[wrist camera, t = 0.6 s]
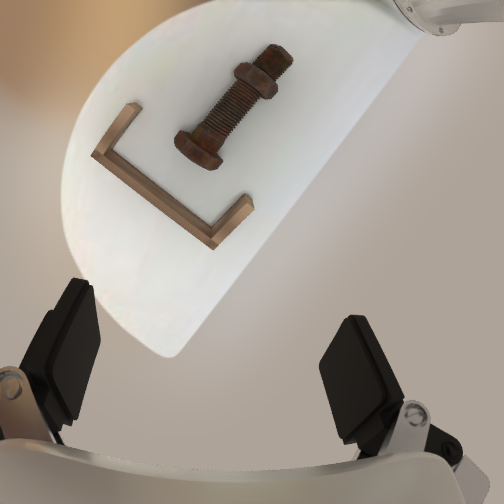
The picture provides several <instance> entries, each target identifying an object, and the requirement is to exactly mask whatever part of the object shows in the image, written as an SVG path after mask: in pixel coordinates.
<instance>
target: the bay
mask: <svg viewBox="0 0 504 504" xmlns="http://www.w3.org/2000/svg"><path fill="white" fill-rule="evenodd" d="M141 110H142V108H141V107H140V106H139V105H137V104H136V103H129V104H126V106H125V107H124V108H123V110H122V111H121V112H120V114H119V115H118V116H117V118H116V119H115V121H114V122H113V123H112V125H111V126H110V128H109V129H108V130H107V132H106V133H105V135H104V136H103V138H102V139H101V141H100V142H99V144H98V145H97V147H96V148H95V150H94V151H93V153H92V154H91V157H93V158H94V159H95V160H96V161H98V162H99V163H100V164H102V165H103V166H104V167H105V168H107V169H108V170H109V171H110V172H112V173H113V174H114V175H115V176H117V177H118V178H119V179H121V180H122V181H123V182H124V183H126V184H127V185H128V186H129V187H131V188H132V189H133V190H135V191H136V192H137V193H138V194H140V195H141V196H142V197H144V198H145V199H146V200H148V201H149V202H150V203H151V204H153V205H154V206H155V207H157V208H158V209H159V210H161V211H162V212H163V213H164V214H166V215H167V216H168V217H170V218H171V219H172V220H174V221H175V222H176V223H178V224H179V225H180V226H182V227H183V228H184V229H185V230H187V231H188V232H189V233H191V234H192V235H193V236H195V237H196V238H197V239H199V240H200V241H201V242H203V243H204V244H205V245H207V246H208V247H209V248H211V249H212V250H214V249H215V248H216V247H217V246H218V245H219V244H220V243H221V242H222V241H223V240H224V239H225V238H226V237H227V236H228V235H229V234H230V233H231V232H232V231H233V230H234V229H235V228H236V227H237V226H238V225H239V224H240V223H241V222H242V221H243V220H244V219H245V218H246V217H247V216H248V215H249V214H250V213H251V212H252V211H253V210H254V209H255V208H254V204H253V201H252V199H251V198H250V197H248V196H247V195H246V194H244V195H243V196H242V197H241V198H240V199H239V200H238V201H237V202H236V203H235V204H234V205H233V206H232V207H231V208H230V209H229V210H228V211H227V212H226V213H225V214H224V215H223V217H222V218H221V219H220V220H219V221H218V222H217V223H216V224H215V225H214V226H213V227H212V228H211V227H210V226H209V225H207V224H206V223H205V222H204V221H202V220H201V219H200V218H199V217H197V216H196V215H195V214H193V213H192V212H191V211H190V210H188V209H187V208H186V207H184V206H183V205H182V204H181V203H179V202H178V201H177V200H176V199H174V198H173V197H172V196H170V195H169V194H168V193H167V192H165V191H164V190H163V189H162V188H160V187H159V186H158V185H156V184H155V183H154V182H153V181H151V180H150V179H149V178H148V177H146V176H145V175H144V174H142V173H141V172H140V171H139V170H137V169H136V168H135V167H134V166H132V165H131V164H130V163H129V162H127V161H126V160H125V159H123V158H122V157H121V156H120V155H118V154H117V153H116V152H115V151H113V150H112V148H113V147H114V145H115V144H116V143H117V141H118V140H119V138H120V137H121V136H122V134H123V133H124V132H125V130H126V129H127V128H128V126H129V125H130V124H131V122H132V121H133V120H134V118H135V117H136V116H137V115H138V113H139V112H140V111H141Z"/></svg>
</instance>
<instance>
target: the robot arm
mask: <svg viewBox="0 0 504 504" xmlns="http://www.w3.org/2000/svg"><path fill="white" fill-rule="evenodd" d="M395 2H396V4H397V5H398V7H399V8H400V10H401V11H402V12H403V14H404V15H405V16H406V17H407V18H408V19H409V20H410V21H411V22H412V23H413V24H414V25H416V26H417V27H418V28H420V29H421V30H423V31H425V32H427V33H429V34H432V35H436V36H445V35H451V34H453V33H454V32H456V31H457V30H458V28H459V27H460V24H461V23H476V22H504V0H395ZM100 339H101V338H100V331H99V326H98V319H97V312H96V306H95V297H94V289H93V286H92V285H89V282H88V280H83V279H78V278H72V279H71V281H70V282H69V284H68V286H67V287H66V289H65V291H64V292H63V294H62V296H61V298H60V300H59V301H58V303H57V305H56V306H55V308H54V310H50V311H48V312H47V314H46V315H45V317H44V319H43V321H42V322H41V324H40V326H39V328H38V330H37V332H36V334H35V336H34V338H33V339H32V341H31V343H30V345H29V347H28V350H27V351H26V354H25V356H24V358H23V360H22V362H21V364H20V366H19V368H17V367H13V366H7V367H3V368H1V369H0V504H482V503H483V501H484V499H485V497H486V495H487V493H488V491H489V488H490V482H489V479H488V477H487V476H486V475H485V474H484V473H483V472H482V471H481V470H480V469H479V468H478V467H477V466H476V465H475V464H474V463H473V462H472V461H471V460H470V459H469V458H468V457H467V456H466V455H464V456H463V450H462V446H461V444H460V442H459V441H458V440H457V439H456V438H454V437H453V436H451V435H449V434H448V433H446V432H444V431H442V430H440V429H439V428H437V427H436V426H434V425H432V424H430V419H431V418H430V414H429V411H428V410H427V408H426V407H425V406H424V405H423V404H422V403H420V402H418V401H415V400H409V401H406V402H405V403H404V401H403V399H404V394H403V392H402V390H401V388H400V386H399V383H398V382H397V379H396V377H395V375H394V373H393V371H392V369H391V367H390V365H389V363H388V361H387V358H386V356H385V354H384V352H383V350H382V348H381V347H380V344H379V342H378V340H377V339H376V336H375V335H374V332H373V330H372V329H371V327H370V325H369V323H368V321H367V319H366V317H365V316H363V315H349V316H348V318H345V319H344V321H343V322H342V324H341V326H340V328H339V330H338V332H337V333H336V335H335V337H334V338H333V340H332V342H331V344H330V345H329V347H328V349H327V350H326V352H325V354H324V355H323V357H322V359H321V360H320V363H319V370H320V374H321V377H322V380H323V384H324V387H325V390H326V394H327V397H328V400H329V404H330V407H331V411H332V414H333V418H334V421H335V425H336V428H337V432H338V435H339V437H340V438H341V439H343V442H344V445H347V444H352V443H356V442H357V445H358V449H357V450H356V452H355V455H354V457H353V459H352V461H348V462H342V463H336V464H330V465H322V466H315V467H306V468H296V469H283V470H265V471H216V470H199V469H185V468H176V467H167V466H158V465H152V464H145V463H139V462H134V461H128V460H123V459H118V458H113V457H108V456H104V455H100V454H95V453H91V452H87V451H83V450H79V449H76V448H72V447H68V446H67V445H66V444H65V442H64V440H63V438H62V436H61V434H60V432H59V431H61V429H62V425H63V424H65V425H68V426H72V423H73V420H77V419H78V416H79V413H80V409H81V405H82V401H83V398H84V394H85V391H86V387H87V384H88V381H89V377H90V374H91V371H92V367H93V365H94V361H95V358H96V355H97V352H98V349H99V346H100V341H101V340H100Z"/></svg>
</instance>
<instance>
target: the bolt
mask: <svg viewBox="0 0 504 504" xmlns="http://www.w3.org/2000/svg"><path fill="white" fill-rule="evenodd" d="M292 62H293V58H292V57H291V55H290V54H289V53H288V52H287V51H286V50H285V49H284V48H283V47H281V46H278V45H276V44H270V45H269V46H268V47H267V48H266V51H264V53H262V54H261V55H260V56H259V57H257V59H256V60H255V61H254V62H253V64H251V63H248V62H246V63H240V65H239V66H238V67H237V68H236V69H235V70H234V76H235V77H236V78H237V79H238V80H237V82H235V85H233V87H230V88H231V89H228V91H229V92H226V93H227V94H224V96H225V97H222V98H223V99H220V101H218V103H219V104H216V106H214V108H215V109H212V111H210V113H211V114H208V116H206V118H207V119H204V121H202V122H201V123H200V124H199V125H198V126H197V127H196V128H195V130H194V131H193V132H192V133H191V134H189V133H187V132H184V131H181V130H180V131H179V132H178V134H177V135H176V136H175V138H174V144H175V146H176V148H177V149H178V150H179V151H180V152H181V153H182V154H184V155H185V156H186V157H187V158H188V159H190V160H191V161H192V162H194V163H196V164H197V165H199V166H201V167H203V168H205V169H207V170H209V171H212V170H216V169H218V167H219V166H220V165H221V164H222V162H223V160H222V159H221V158H220V156H219V155H218V154H217V153H216V152H217V151H218V150H219V149H220V147H221V146H222V145H223V143H224V141H225V139H226V138H227V136H229V133H231V131H233V128H235V126H237V123H240V122H239V121H242V120H241V118H243V116H245V114H247V111H249V109H252V108H251V107H253V104H255V102H257V99H259V97H262V98H263V99H272V97H273V96H274V95H275V94H276V93H277V92H278V85H277V84H276V82H275V81H276V79H278V77H280V75H282V73H284V71H286V69H287V68H288V67H290V65H292Z"/></svg>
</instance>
